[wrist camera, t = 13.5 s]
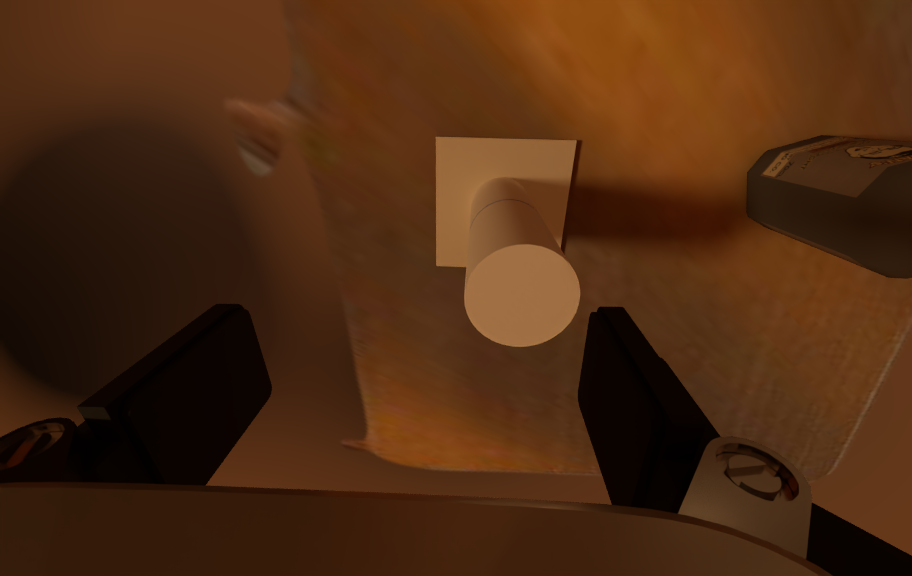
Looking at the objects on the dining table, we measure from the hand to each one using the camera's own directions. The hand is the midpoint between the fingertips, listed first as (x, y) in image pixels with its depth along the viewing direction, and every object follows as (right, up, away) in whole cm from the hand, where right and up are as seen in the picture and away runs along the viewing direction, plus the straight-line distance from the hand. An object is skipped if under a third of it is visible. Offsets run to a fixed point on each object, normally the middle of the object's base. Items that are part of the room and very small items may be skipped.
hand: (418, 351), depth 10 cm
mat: (+7, +12, +36) cm, 39 cm away
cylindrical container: (+6, +12, +36) cm, 38 cm away
